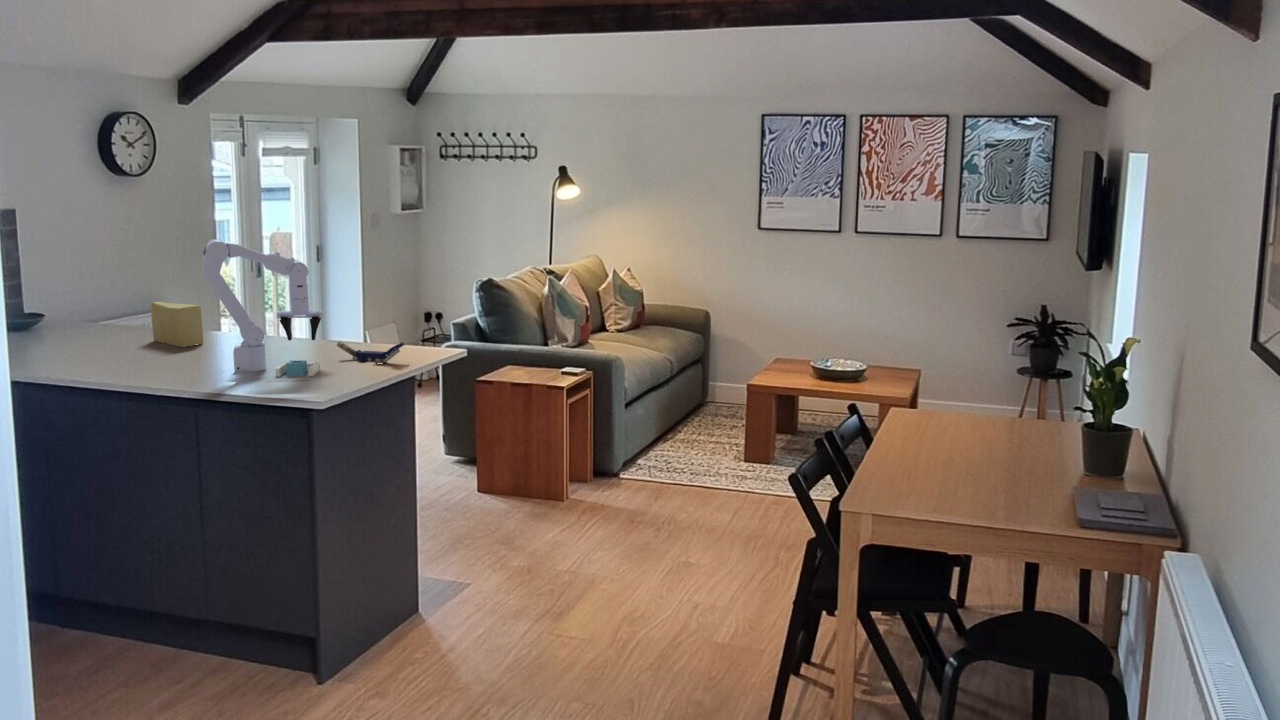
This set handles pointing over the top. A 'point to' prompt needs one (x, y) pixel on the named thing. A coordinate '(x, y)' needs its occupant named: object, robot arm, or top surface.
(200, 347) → the top surface
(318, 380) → the board
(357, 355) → the toy
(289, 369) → the blue square hollow block
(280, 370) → the white u-shaped piece
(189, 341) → the cheese
